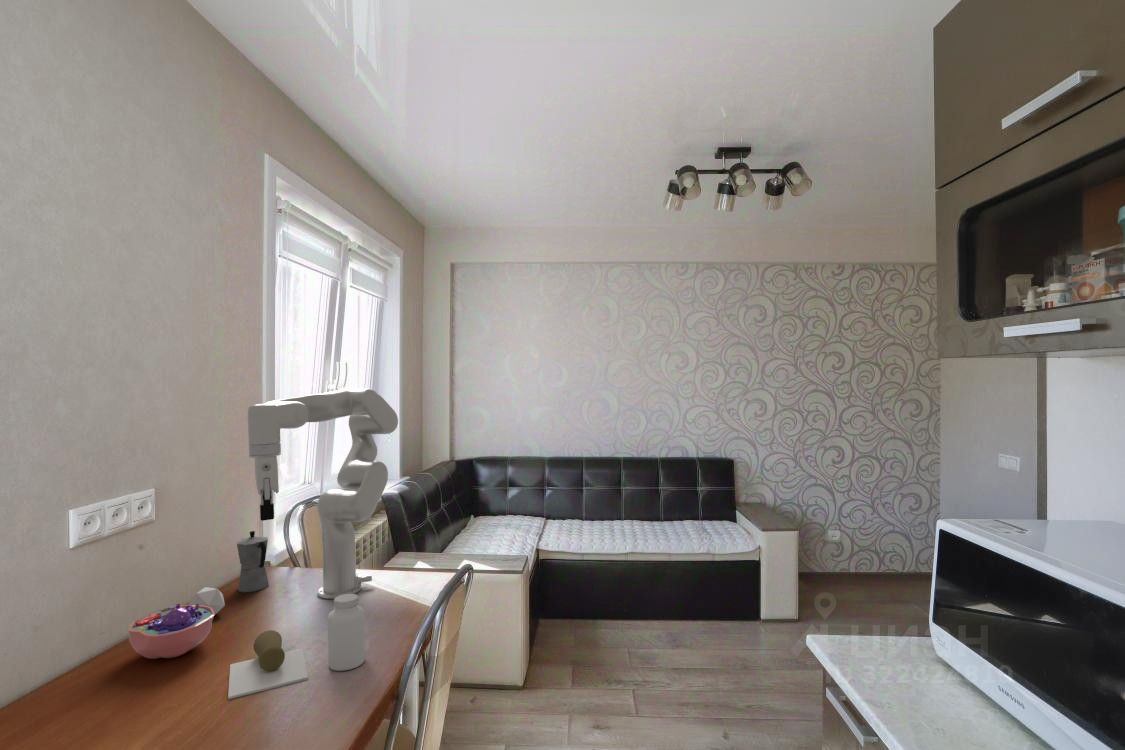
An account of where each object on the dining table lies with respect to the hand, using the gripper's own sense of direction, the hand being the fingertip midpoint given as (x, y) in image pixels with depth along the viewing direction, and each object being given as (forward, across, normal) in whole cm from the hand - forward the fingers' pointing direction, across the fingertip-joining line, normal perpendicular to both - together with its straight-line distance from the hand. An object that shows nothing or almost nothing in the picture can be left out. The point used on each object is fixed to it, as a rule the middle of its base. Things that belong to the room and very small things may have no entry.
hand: (267, 519), depth 152 cm
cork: (+26, -18, +1) cm, 31 cm away
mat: (+29, -27, +2) cm, 39 cm away
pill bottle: (+29, -32, -14) cm, 45 cm away
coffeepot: (+29, +37, +3) cm, 47 cm away
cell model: (+29, -3, +21) cm, 36 cm away
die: (+29, +18, +15) cm, 38 cm away
